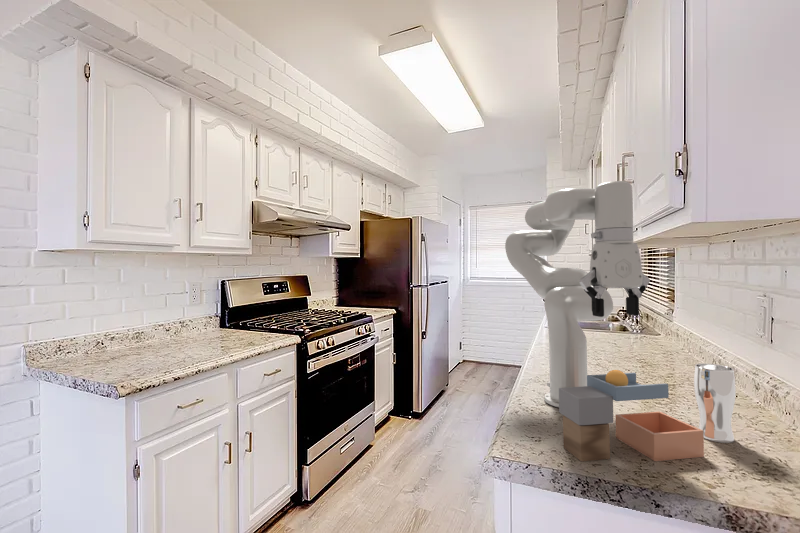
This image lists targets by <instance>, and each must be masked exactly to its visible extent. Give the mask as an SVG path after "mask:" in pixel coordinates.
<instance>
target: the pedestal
mask: <svg viewBox="0 0 800 533" xmlns="http://www.w3.org/2000/svg"><path fill="white" fill-rule="evenodd" d="M562 430H563V431H562V433H563V435H562V436H563V439H562V440H563V441H562V442H563V448H564V449H565V450H566V451H567V452H568V453H570V454H571V455H572V456H573V457H575V458H576V459H577V460H579V461H580V462H591V461H602V460H603V461H604V460H610V459H611V438H610V435H611V434H610V423H606V424H593V425H578V424H576V423H575V422H573V421H572V420H570V419H569V418H567V417H566V416H564V415H562Z"/></svg>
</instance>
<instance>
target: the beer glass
mask: <svg viewBox="0 0 800 533" xmlns="http://www.w3.org/2000/svg"><path fill="white" fill-rule="evenodd" d="M734 370H735V368H733V367H731V366H727V365H723V364H717V363H704V362H703V363H702V362H701V363H695V365H694V375H693V376H694V377H693V386H694V387H693V388H694V394H695V401H696V404H697V408H698V412H699V425H698V428H699V429H701V430H703V436H704V439H705V440H706V441H707V440H708V441H711V442H715V443H720V444H721V443H722V444H723V443H724V444H729V443H733V442H735V435H734V433H733V432H734V431H733V429H732V428H733V427H732V417H733V412H734V408H735V401H736V391H737V390H736V378H735V371H734Z"/></svg>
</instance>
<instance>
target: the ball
mask: <svg viewBox="0 0 800 533" xmlns="http://www.w3.org/2000/svg"><path fill="white" fill-rule="evenodd" d="M625 373H626V372H624V371H621V370H619V369H612V370H610V371H608V372H607V373H606V374H607V375H606V382H607V383H610V384H612V385H615V386H627V385H628V378H627V376H626V375H625Z"/></svg>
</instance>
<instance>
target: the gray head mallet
mask: <svg viewBox="0 0 800 533" xmlns="http://www.w3.org/2000/svg"><path fill="white" fill-rule="evenodd" d="M624 373H625V375H626V376H627V378H628V385H627V386H615V385H612V384H610V383H607V382H606V375H607V373H603V374H602V373H601V374H600V373H599V374H587V386H584V387H567V388H559V407H558V409H559V410H558V413H560V414H561V415H562V416H563V415H564V416H566V417H567V418H569V419H570V420H572V421H573V422H575V423H576V424H578V425H593V424H606V423H608V424H614V401H615V402H628V401H629V402H630V401H642V400H655V399H656V400H657V399H669V396H670V394H669V392H670V391H669V384H668V383H666V382H665V383H653V384H652V383H651V384H641V383H639V381H638V380H637V373H636V372H624Z"/></svg>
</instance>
